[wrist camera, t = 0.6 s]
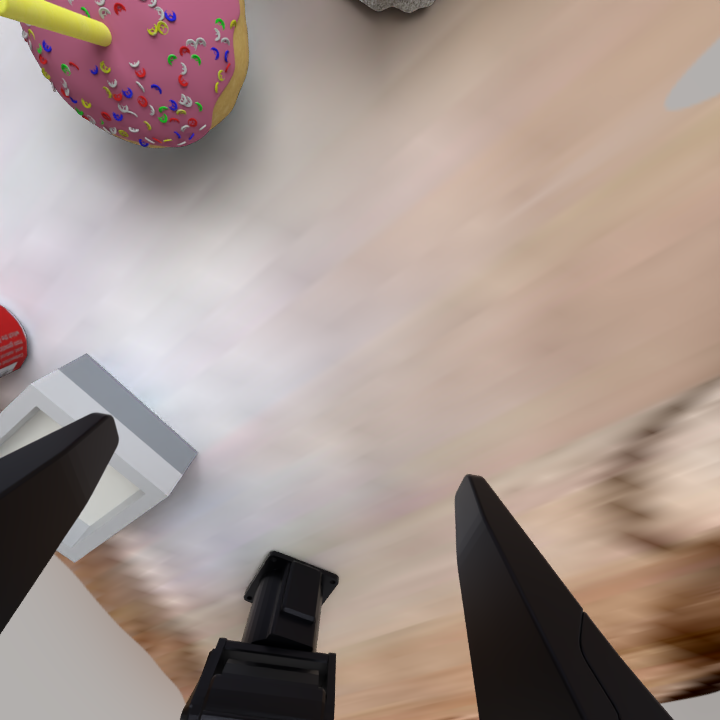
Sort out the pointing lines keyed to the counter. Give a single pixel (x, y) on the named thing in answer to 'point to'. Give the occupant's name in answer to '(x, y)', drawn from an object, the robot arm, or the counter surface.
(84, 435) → the robot arm
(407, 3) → the colorful dessert platter
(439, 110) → the counter surface
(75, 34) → the cupcake
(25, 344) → the soda can
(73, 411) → the socket block
